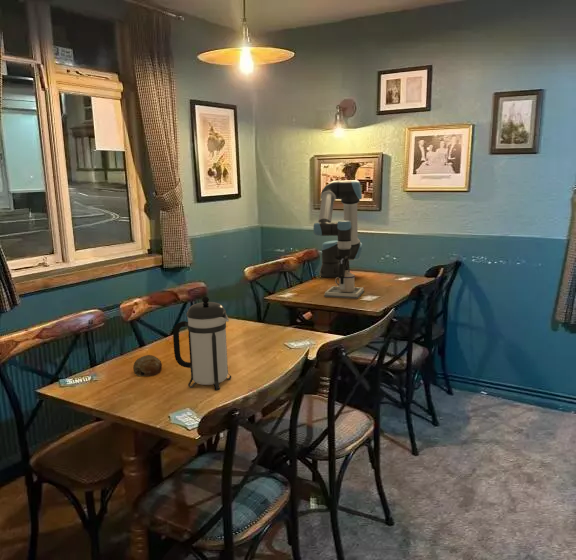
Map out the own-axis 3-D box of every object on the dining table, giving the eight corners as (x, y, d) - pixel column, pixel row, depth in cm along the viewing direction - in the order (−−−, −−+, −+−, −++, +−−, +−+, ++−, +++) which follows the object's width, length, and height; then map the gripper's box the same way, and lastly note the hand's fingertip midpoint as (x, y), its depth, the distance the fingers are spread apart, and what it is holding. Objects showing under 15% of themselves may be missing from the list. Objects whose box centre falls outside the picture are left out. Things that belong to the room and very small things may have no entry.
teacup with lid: (357, 289, 302) (357, 269, 299) (350, 293, 295) (350, 272, 292) (339, 287, 309) (339, 268, 306) (331, 290, 301) (331, 270, 299)
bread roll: (132, 384, 188) (125, 368, 184) (142, 363, 197) (136, 347, 192) (158, 385, 187) (152, 369, 182) (167, 364, 195) (162, 348, 190)
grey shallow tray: (332, 290, 313) (332, 286, 312) (364, 291, 306) (364, 287, 306) (324, 296, 297) (324, 292, 296) (357, 298, 290) (357, 294, 290)
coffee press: (224, 371, 189) (220, 288, 183) (238, 387, 174) (234, 298, 168) (175, 379, 182) (169, 294, 176) (186, 396, 168) (179, 304, 162)
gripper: (342, 245, 307) (342, 283, 312) (332, 251, 287) (333, 291, 292) (355, 245, 305) (355, 284, 310) (346, 251, 285) (346, 292, 290)
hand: (344, 287), depth 301 cm, fingers closed on teacup with lid, 9 cm apart
